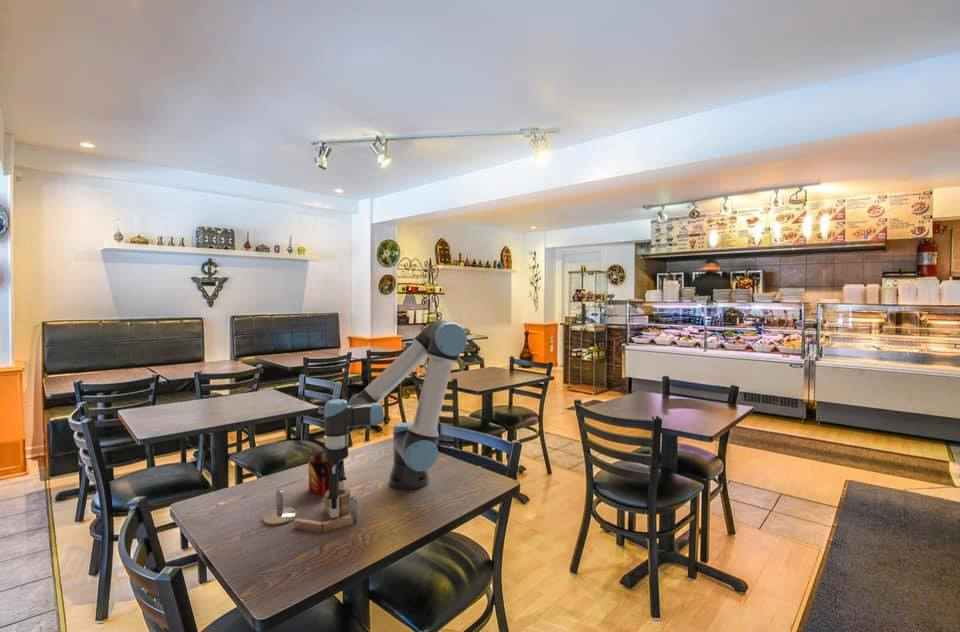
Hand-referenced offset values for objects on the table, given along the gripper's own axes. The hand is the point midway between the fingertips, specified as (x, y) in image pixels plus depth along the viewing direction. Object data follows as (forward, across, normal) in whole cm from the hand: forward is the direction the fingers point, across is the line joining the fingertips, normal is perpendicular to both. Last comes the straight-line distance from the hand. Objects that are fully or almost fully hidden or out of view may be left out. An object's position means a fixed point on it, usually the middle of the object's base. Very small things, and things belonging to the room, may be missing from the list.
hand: (337, 508), depth 161 cm
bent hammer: (+1, +12, -2) cm, 12 cm away
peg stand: (+1, +3, -18) cm, 18 cm away
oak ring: (+1, 0, 0) cm, 1 cm away
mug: (+1, -17, -7) cm, 18 cm away
